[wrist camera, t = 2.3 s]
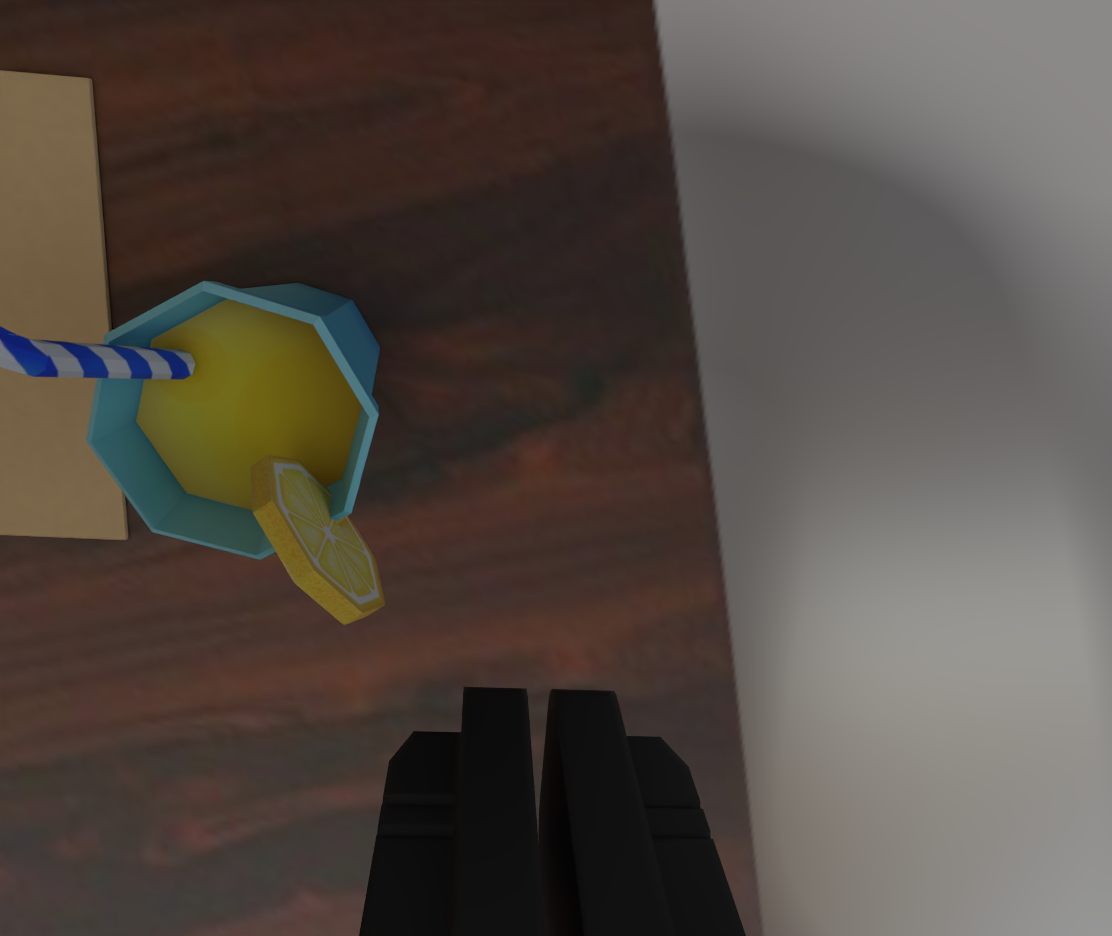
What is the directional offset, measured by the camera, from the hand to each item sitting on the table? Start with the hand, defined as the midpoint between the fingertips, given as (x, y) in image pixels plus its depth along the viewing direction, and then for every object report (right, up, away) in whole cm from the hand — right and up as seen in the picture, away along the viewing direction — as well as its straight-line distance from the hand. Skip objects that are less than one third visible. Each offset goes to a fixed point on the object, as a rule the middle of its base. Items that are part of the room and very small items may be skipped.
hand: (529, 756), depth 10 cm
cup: (-10, +8, +23) cm, 26 cm away
